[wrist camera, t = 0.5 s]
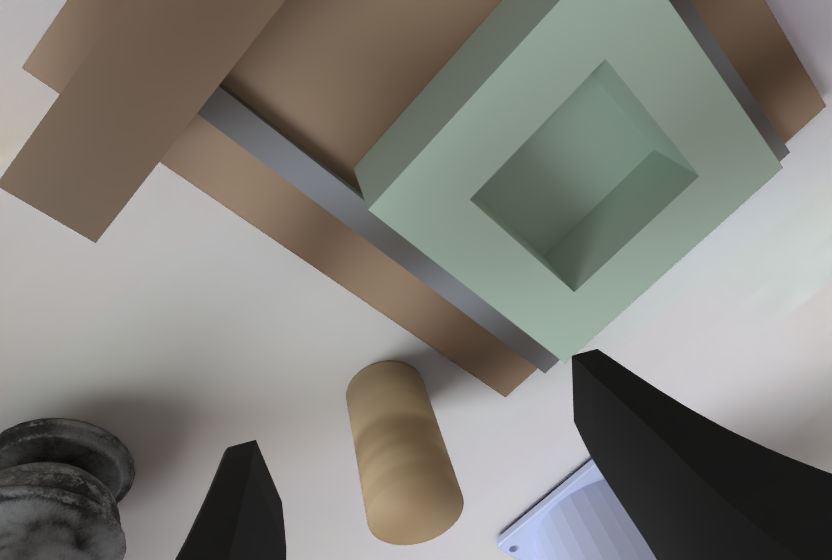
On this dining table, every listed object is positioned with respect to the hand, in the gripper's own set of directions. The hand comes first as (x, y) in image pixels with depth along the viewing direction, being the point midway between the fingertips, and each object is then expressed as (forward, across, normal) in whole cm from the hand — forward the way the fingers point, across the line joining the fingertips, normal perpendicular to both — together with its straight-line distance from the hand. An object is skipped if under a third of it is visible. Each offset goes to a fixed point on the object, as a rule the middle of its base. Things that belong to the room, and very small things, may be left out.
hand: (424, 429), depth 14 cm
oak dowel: (+9, +1, +7) cm, 11 cm away
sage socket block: (+9, -6, -2) cm, 11 cm away
